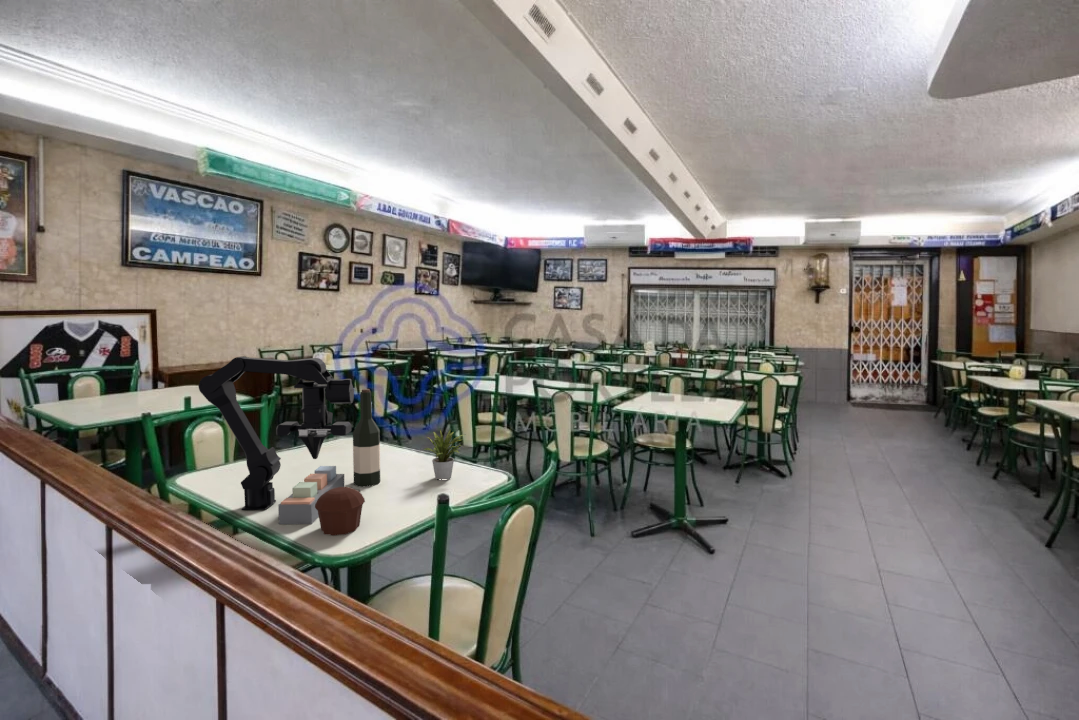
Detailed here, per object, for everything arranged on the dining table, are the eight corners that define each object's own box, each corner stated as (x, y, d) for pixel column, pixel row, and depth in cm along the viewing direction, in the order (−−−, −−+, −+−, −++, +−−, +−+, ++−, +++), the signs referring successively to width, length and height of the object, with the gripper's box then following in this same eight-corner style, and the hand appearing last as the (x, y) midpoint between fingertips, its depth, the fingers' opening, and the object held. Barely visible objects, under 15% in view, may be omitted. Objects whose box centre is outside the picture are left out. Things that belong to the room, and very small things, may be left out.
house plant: (462, 486, 161) (462, 435, 160) (418, 486, 161) (417, 434, 160) (468, 472, 175) (468, 425, 174) (427, 472, 175) (427, 425, 174)
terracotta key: (304, 491, 142) (304, 478, 142) (310, 485, 147) (310, 473, 147) (321, 491, 143) (321, 478, 142) (327, 485, 147) (327, 473, 147)
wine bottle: (372, 487, 159) (370, 391, 156) (348, 485, 161) (346, 390, 158) (385, 479, 167) (384, 388, 165) (362, 477, 169) (360, 387, 166)
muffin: (321, 541, 121) (320, 500, 120) (310, 526, 130) (309, 487, 129) (371, 530, 128) (370, 491, 127) (358, 515, 137) (357, 479, 136)
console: (278, 524, 131) (278, 502, 130) (317, 489, 156) (316, 472, 156) (311, 523, 131) (311, 502, 131) (344, 489, 157) (344, 471, 156)
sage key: (292, 500, 135) (292, 487, 135) (300, 494, 139) (299, 482, 139) (310, 500, 135) (310, 487, 135) (317, 494, 140) (317, 482, 139)
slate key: (314, 482, 150) (314, 470, 149) (320, 477, 154) (320, 465, 154) (330, 482, 150) (330, 470, 150) (336, 477, 155) (336, 465, 154)
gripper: (356, 399, 151) (357, 451, 152) (291, 398, 150) (293, 451, 152) (344, 405, 140) (345, 461, 141) (274, 405, 139) (276, 461, 140)
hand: (315, 458), depth 144 cm, fingers closed
